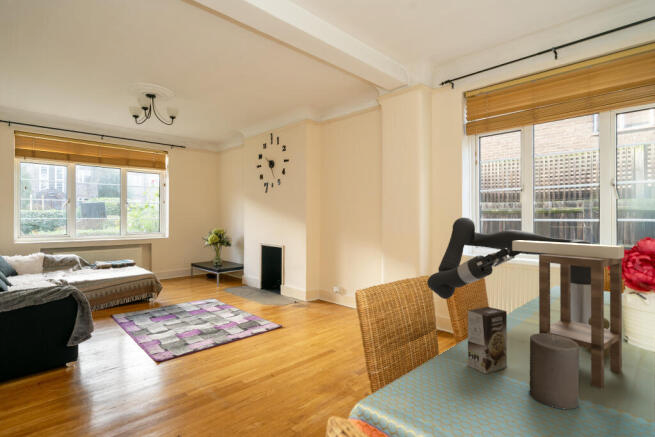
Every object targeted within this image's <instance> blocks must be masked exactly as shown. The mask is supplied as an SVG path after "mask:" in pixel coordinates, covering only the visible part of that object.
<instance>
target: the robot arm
mask: <svg viewBox="0 0 655 437" xmlns="http://www.w3.org/2000/svg"><path fill="white" fill-rule="evenodd" d="M517 240H524V241H542V242H560V243H579V244H592V243H591V242H590V241H586V240H585V239H573V238H572V239H571V238H568V239H567V238H558V237H557V238H556V237H552V236H551V237H550V236H546V235H542V234H539V233H534V232H528V231H523V230H518V229H517V230H516V229H504V230H500V231H495V232H492V233H484V232H483V233H482V232H476V225H475V222H474V221H473V220H472V219H471V218H468V217H459V218H457V219H456V220H455V221H454V222H453V224H452V231H451V236H450V238H449V241H448V244H447V248H446V250H445V253H444V255H443V257H442V259H441V262H440V263H439V266H438V268H437V269H438V272H435V273H433V274H432V275H430V276H429V277H428V279H427V282H426V283H427V286H428V288H429V289H430V290H431V291H433V292H434V293H435V294H436V295H437V296H439V297H440V298H441V299H443V300H447V299H450V298H452V296H453V295H454V294H455V291H456V289H457V288H462V287H464V286H466V285H469V284H471V283H476V282H478V281H479V280H483V279H484V278H486V277H489V276H490V275H492V274H493V270H494V269H493V268H495V267H499V266H500V265H503V264H505V263H507V262H508V261H510V260H514V259H515V258H516V256H518V255H520V254H523V255H535V256H539V255H541V254H547V253H538V252H525V251H513V250H512V241H517ZM465 246H469V247H479V248H481V247H482V248H489V249H494V250H498V251H496V252H493V253H488V254H487V255H482V254H478V255H476V256H474V257H472V258H469V259H468V260H467V261H465V262H462V258H463V252H464V248H465ZM461 262H462V263H461ZM590 317H591V267H584V266H574V265H571V321H573V322H578V323H582V324H587V325H589V323H588V320H589V318H590Z"/></svg>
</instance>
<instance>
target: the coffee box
mask: <svg viewBox="0 0 655 437" xmlns="http://www.w3.org/2000/svg"><path fill="white" fill-rule="evenodd" d="M507 313H508V312H507V310H504V309H500V308H495V307H490V306H485V307H479V308H478V307H477V308H473V309H469V310H467V366H469V367H471V368H472V369H474V370H477V371H479V372H481V373H484V374H485V375H487V374H490V373H493V372H495V371H498V370H502V369H505V368H507V367H508V363H507V362H508V361H507V360H508V359H507V358H508V357H507V356H508V353H507V352H508V344H507V341H508V340H507V339H508V338H507V335H508V334H507V332H508V328H507V327H508V326H507V325H508V324H507V322H508V320H507V319H508V318H507V316H508V315H507Z"/></svg>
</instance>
